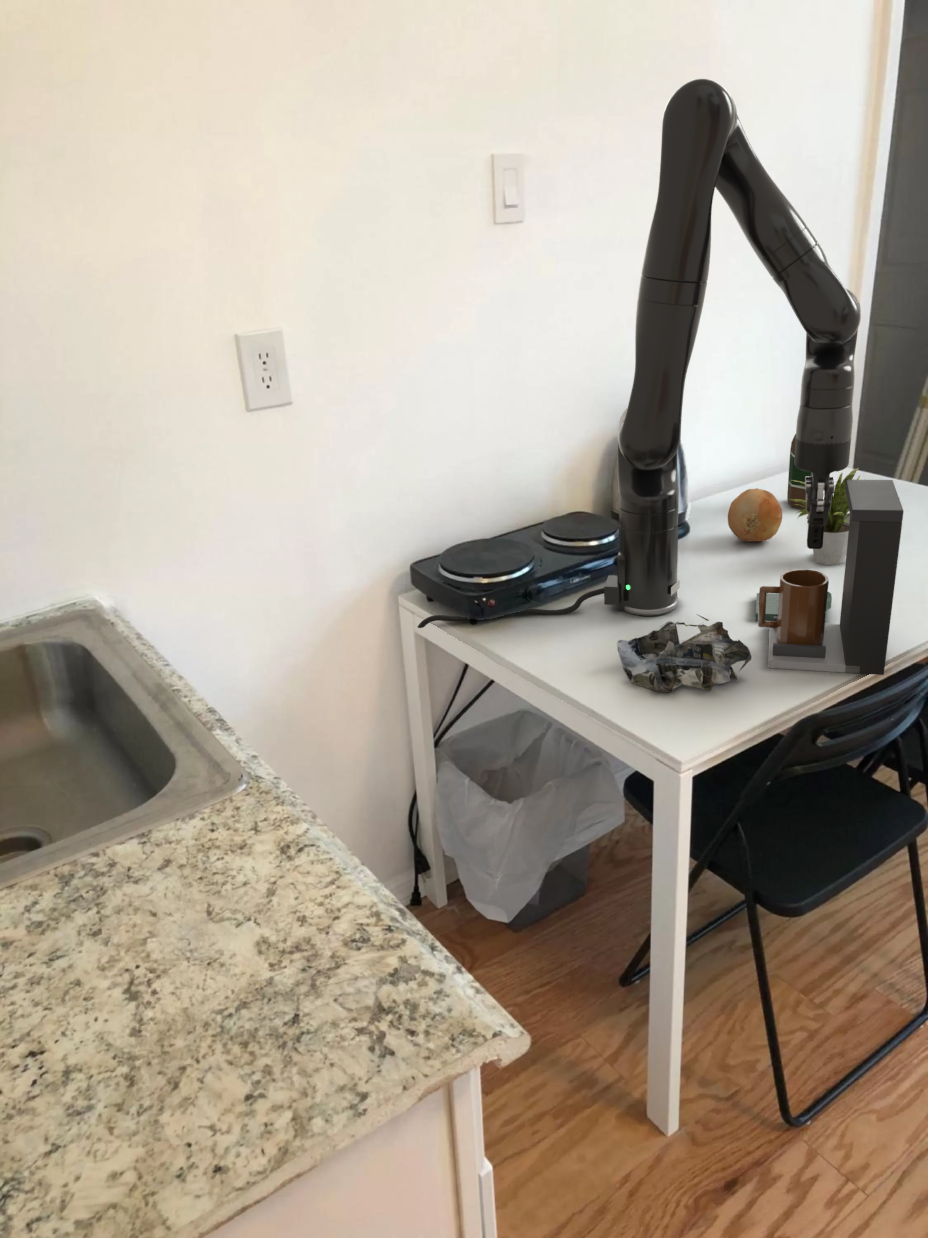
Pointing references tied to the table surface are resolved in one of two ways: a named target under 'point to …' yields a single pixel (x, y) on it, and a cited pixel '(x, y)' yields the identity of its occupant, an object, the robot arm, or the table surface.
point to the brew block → (773, 605)
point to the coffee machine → (857, 589)
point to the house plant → (834, 525)
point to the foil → (682, 658)
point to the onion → (755, 515)
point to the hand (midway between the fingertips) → (814, 546)
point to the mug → (797, 607)
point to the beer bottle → (798, 475)
